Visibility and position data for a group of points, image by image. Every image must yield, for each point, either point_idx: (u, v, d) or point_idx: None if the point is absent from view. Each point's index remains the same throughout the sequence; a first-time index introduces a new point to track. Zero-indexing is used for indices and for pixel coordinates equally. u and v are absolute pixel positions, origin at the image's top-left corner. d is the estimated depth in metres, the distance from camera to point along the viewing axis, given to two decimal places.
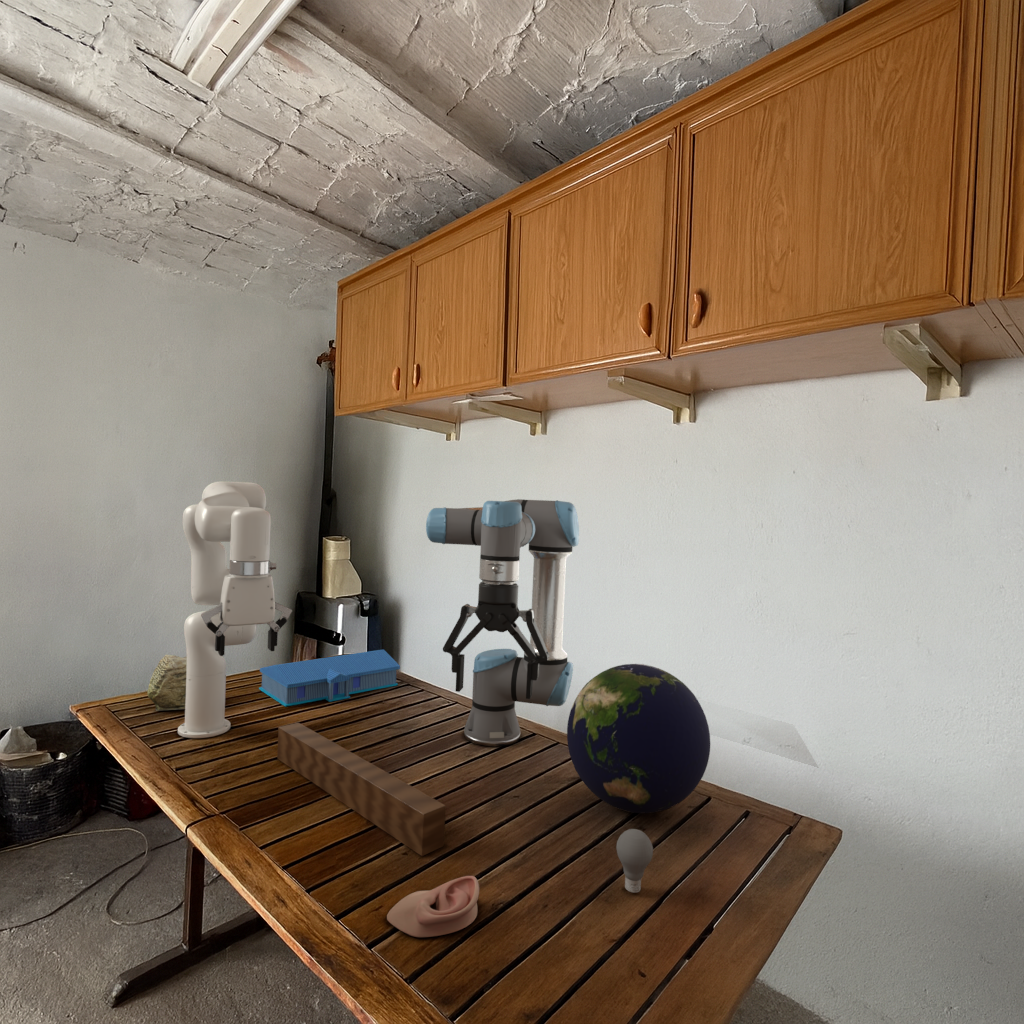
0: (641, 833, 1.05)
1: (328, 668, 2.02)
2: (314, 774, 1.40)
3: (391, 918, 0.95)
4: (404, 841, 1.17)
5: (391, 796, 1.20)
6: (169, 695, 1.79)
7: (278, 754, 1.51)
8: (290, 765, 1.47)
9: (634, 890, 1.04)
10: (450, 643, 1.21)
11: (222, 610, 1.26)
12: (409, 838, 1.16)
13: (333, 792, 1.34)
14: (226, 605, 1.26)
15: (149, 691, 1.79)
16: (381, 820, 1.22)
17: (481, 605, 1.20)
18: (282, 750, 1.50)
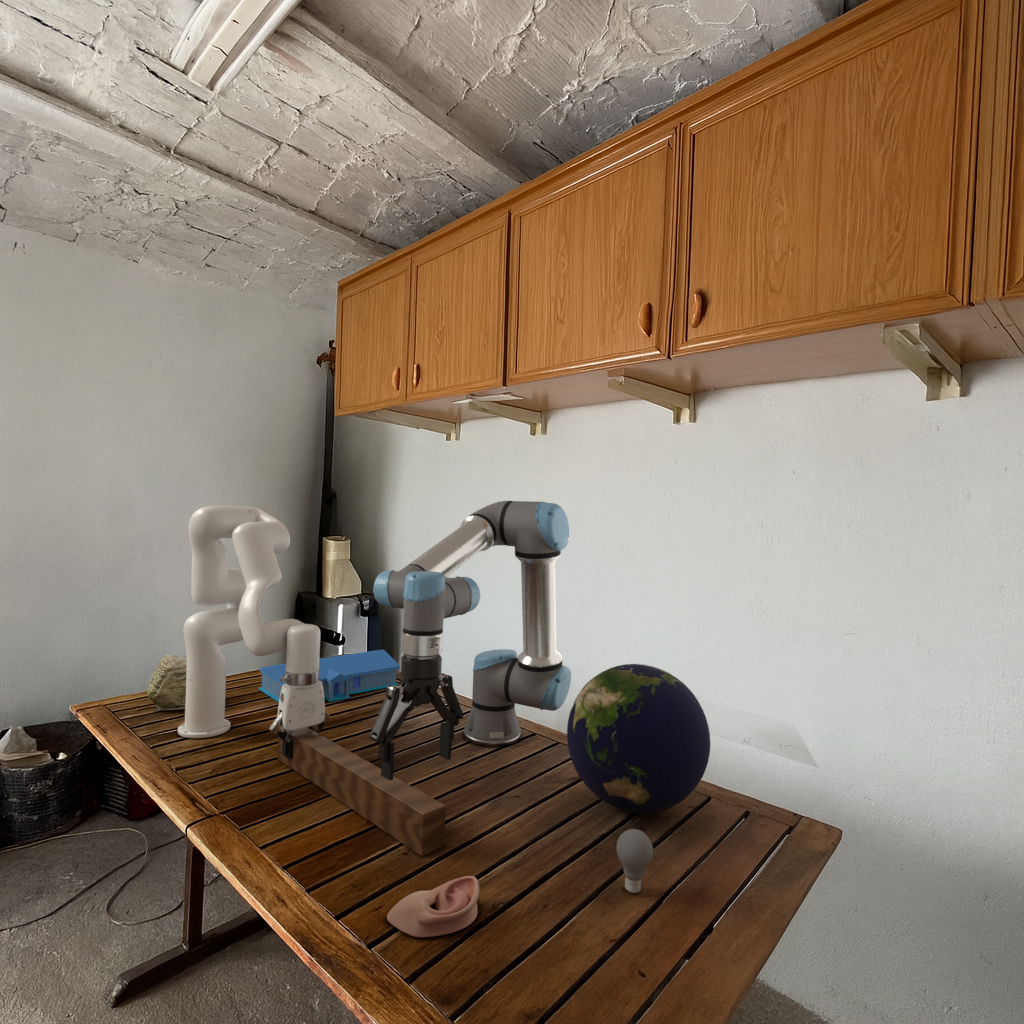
0: (641, 833, 1.05)
1: (328, 668, 2.02)
2: (314, 774, 1.40)
3: (391, 918, 0.95)
4: (404, 841, 1.17)
5: (391, 796, 1.20)
6: (169, 695, 1.79)
7: (278, 754, 1.51)
8: (290, 765, 1.47)
9: (634, 890, 1.04)
10: (384, 732, 1.12)
11: None
12: (409, 838, 1.16)
13: (333, 792, 1.34)
14: None
15: (149, 691, 1.79)
16: (381, 820, 1.22)
17: (411, 682, 1.16)
18: None
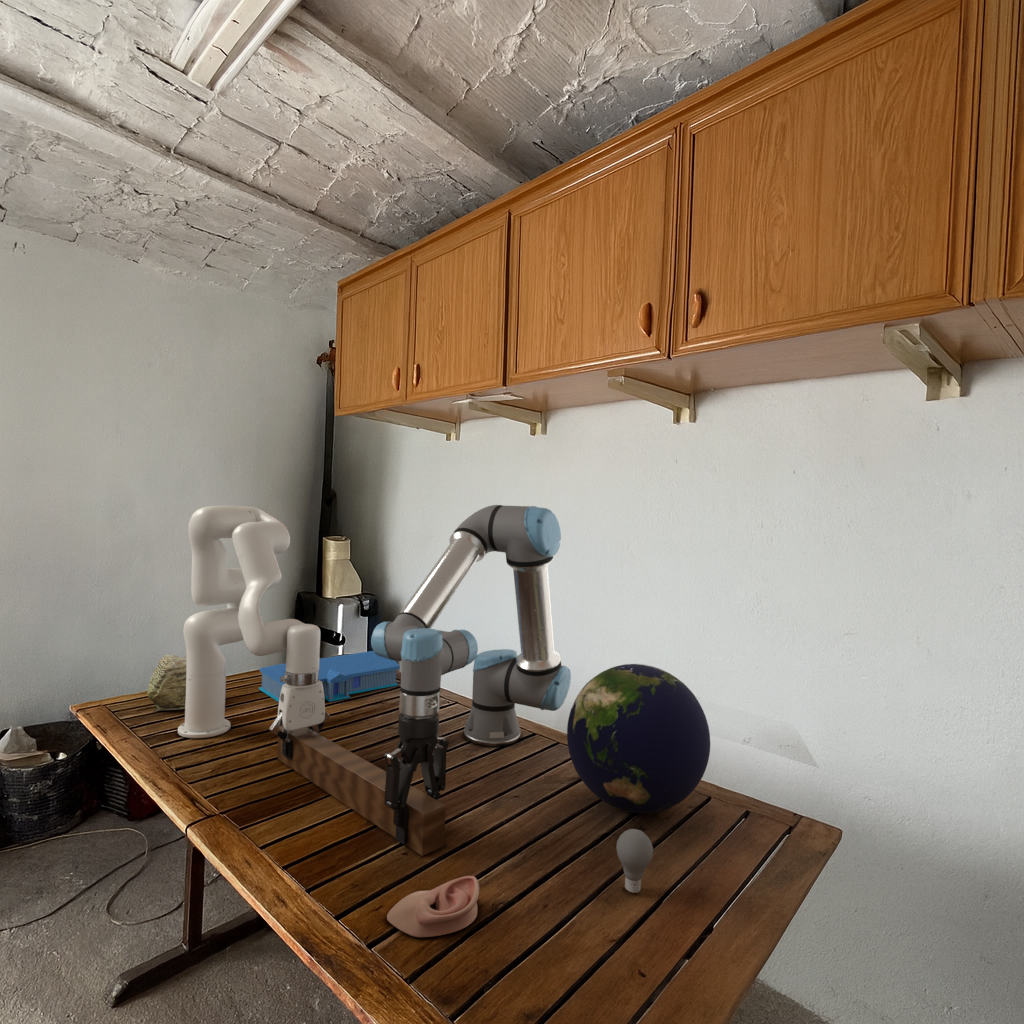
0: (641, 833, 1.05)
1: (328, 668, 2.02)
2: (314, 774, 1.40)
3: (391, 918, 0.95)
4: None
5: None
6: (169, 695, 1.79)
7: (278, 754, 1.51)
8: (290, 765, 1.47)
9: (634, 890, 1.04)
10: (396, 797, 1.14)
11: None
12: (409, 838, 1.16)
13: (333, 792, 1.34)
14: None
15: (149, 691, 1.79)
16: (381, 820, 1.22)
17: (409, 742, 1.16)
18: None
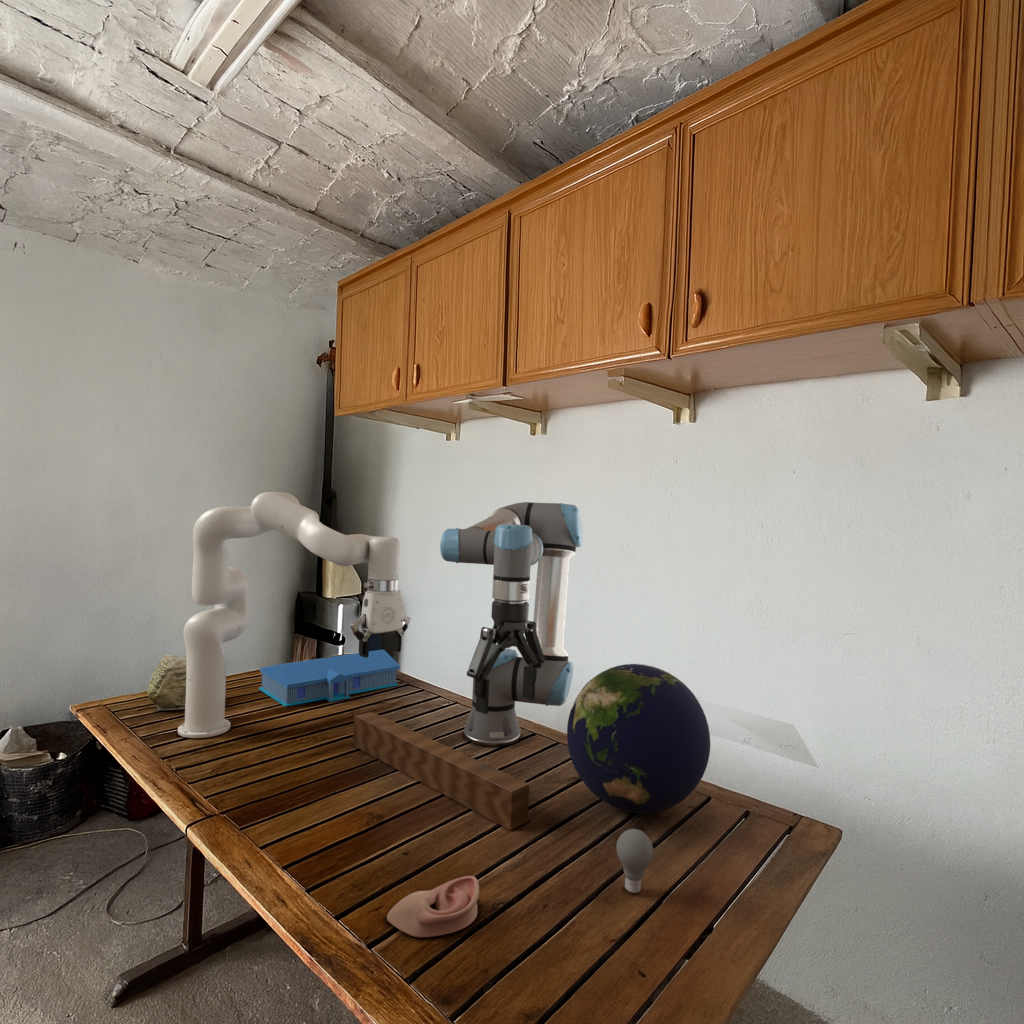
0: (641, 833, 1.05)
1: (328, 668, 2.02)
2: (394, 758, 1.50)
3: (391, 918, 0.95)
4: (491, 817, 1.27)
5: (477, 776, 1.30)
6: (169, 695, 1.79)
7: (354, 741, 1.62)
8: (367, 750, 1.57)
9: (634, 890, 1.04)
10: (481, 668, 1.21)
11: None
12: (496, 814, 1.26)
13: (414, 774, 1.44)
14: None
15: (149, 691, 1.79)
16: (466, 798, 1.32)
17: (503, 625, 1.25)
18: (359, 737, 1.60)
